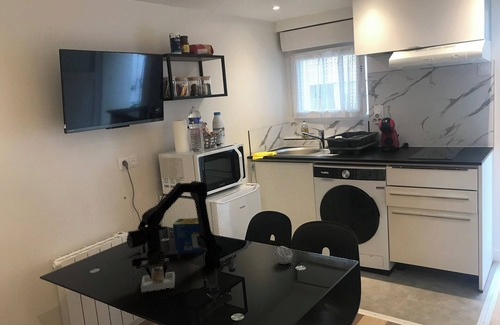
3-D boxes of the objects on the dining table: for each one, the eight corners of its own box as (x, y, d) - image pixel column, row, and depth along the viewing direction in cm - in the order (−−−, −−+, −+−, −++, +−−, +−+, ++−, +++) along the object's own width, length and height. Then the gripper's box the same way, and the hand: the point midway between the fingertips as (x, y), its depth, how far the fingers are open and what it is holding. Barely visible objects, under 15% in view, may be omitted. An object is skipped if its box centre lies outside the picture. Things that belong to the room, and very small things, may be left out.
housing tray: (174, 277, 185) (174, 271, 185) (174, 287, 174) (173, 281, 174) (143, 281, 183) (143, 275, 183) (141, 292, 172) (140, 286, 172)
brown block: (163, 279, 182) (162, 264, 181) (163, 285, 176) (161, 269, 175) (154, 281, 181) (152, 266, 180) (153, 287, 175) (151, 271, 174)
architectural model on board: (143, 254, 220) (141, 236, 219) (139, 253, 221) (137, 235, 220) (158, 247, 230) (156, 229, 228) (154, 246, 231) (152, 229, 230)
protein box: (181, 247, 225) (178, 218, 223) (209, 245, 223) (206, 217, 221) (175, 254, 215) (171, 224, 213) (204, 253, 213) (201, 223, 211)
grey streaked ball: (286, 267, 185) (285, 250, 184) (272, 265, 189) (270, 248, 188) (296, 261, 191) (294, 245, 190) (281, 259, 196) (280, 242, 195)
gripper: (128, 251, 167) (132, 288, 169) (176, 245, 170) (180, 282, 172) (131, 242, 178) (136, 278, 180) (176, 236, 181) (180, 271, 183)
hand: (158, 277), depth 178 cm, fingers open, 5 cm apart
